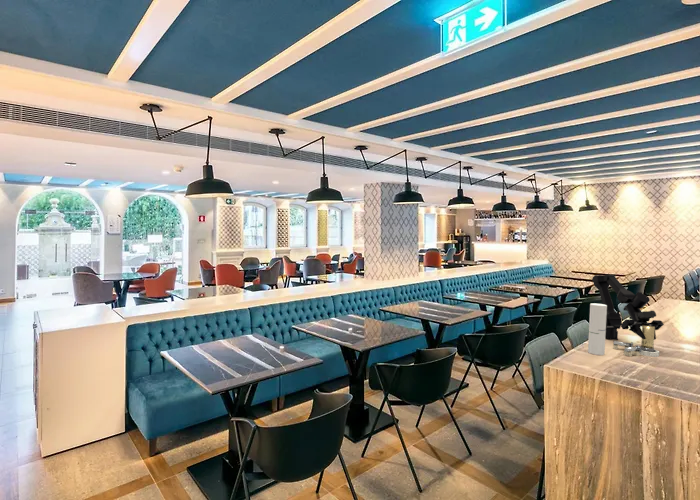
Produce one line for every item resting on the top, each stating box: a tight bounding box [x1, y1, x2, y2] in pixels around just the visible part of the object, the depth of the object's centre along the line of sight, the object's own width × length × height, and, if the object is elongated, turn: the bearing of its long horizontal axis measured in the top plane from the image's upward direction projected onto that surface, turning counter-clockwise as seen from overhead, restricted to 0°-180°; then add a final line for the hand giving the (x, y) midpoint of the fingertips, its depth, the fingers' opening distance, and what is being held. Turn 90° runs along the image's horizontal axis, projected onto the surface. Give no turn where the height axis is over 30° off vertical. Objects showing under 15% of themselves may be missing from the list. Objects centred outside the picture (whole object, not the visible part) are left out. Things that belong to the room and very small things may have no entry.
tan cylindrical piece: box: [639, 325, 656, 352], centre depth 197 cm, size 6×6×13 cm
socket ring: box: [639, 348, 660, 358], centre depth 197 cm, size 10×10×2 cm
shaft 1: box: [612, 340, 634, 350], centre depth 204 cm, size 8×3×5 cm, turn 52°
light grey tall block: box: [587, 302, 607, 356], centre depth 196 cm, size 7×7×25 cm
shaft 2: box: [623, 345, 642, 357], centre depth 194 cm, size 8×3×5 cm, turn 107°
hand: (649, 339), depth 196 cm, fingers closed on tan cylindrical piece, 5 cm apart
